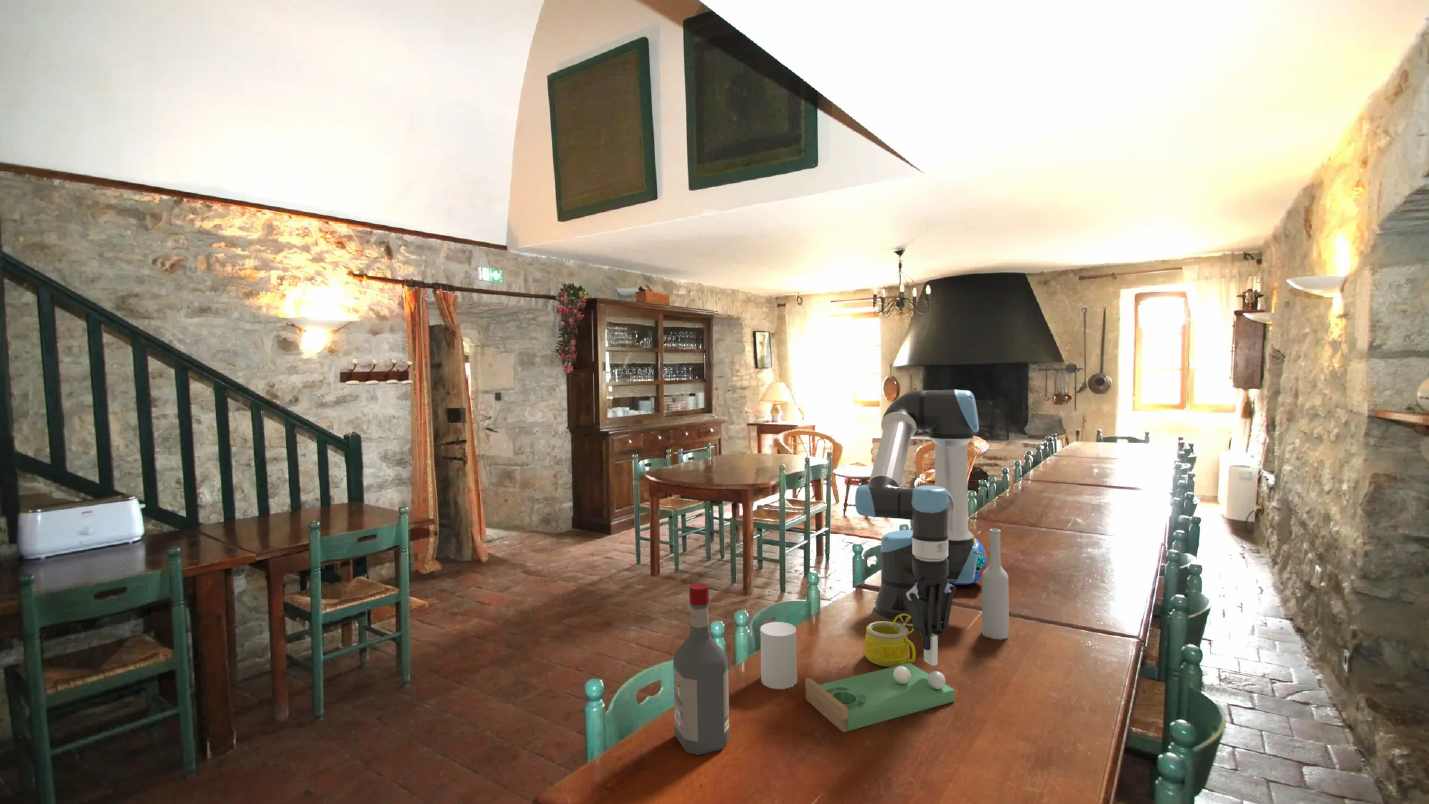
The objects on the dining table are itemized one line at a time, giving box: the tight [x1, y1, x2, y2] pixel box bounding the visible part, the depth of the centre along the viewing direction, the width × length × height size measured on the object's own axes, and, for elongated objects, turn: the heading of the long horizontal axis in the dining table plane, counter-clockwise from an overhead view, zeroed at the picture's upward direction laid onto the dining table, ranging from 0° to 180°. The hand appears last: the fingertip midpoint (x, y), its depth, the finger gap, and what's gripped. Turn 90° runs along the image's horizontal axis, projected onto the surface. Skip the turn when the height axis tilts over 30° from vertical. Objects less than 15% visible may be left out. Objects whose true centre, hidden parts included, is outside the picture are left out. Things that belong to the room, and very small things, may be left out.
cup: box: [759, 621, 798, 690], centre depth 145 cm, size 8×8×12 cm
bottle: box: [981, 528, 1010, 640], centre depth 168 cm, size 7×7×28 cm
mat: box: [804, 662, 955, 733], centre depth 136 cm, size 14×28×4 cm, turn 113°
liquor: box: [672, 582, 730, 756], centre depth 121 cm, size 9×9×30 cm
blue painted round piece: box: [948, 537, 988, 586], centre depth 210 cm, size 18×18×15 cm
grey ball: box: [928, 670, 946, 689], centre depth 135 cm, size 4×4×4 cm
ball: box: [893, 666, 911, 684], centre depth 138 cm, size 4×4×4 cm
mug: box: [863, 614, 917, 668], centre depth 154 cm, size 13×11×12 cm
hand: (930, 662), depth 141 cm, fingers closed
